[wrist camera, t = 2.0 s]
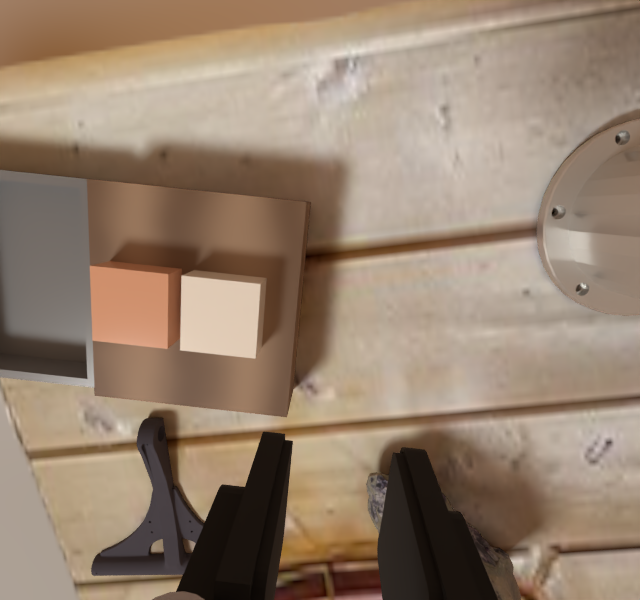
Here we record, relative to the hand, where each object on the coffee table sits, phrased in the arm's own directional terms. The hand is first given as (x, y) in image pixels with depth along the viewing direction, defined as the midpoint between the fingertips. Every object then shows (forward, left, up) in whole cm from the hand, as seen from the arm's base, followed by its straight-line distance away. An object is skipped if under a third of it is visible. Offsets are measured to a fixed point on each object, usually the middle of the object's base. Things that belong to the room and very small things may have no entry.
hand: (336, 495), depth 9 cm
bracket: (+12, +18, -20) cm, 30 cm away
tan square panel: (+9, 0, -19) cm, 21 cm away
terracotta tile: (+12, 0, -15) cm, 19 cm away
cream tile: (+7, 0, -15) cm, 17 cm away
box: (+21, 0, -19) cm, 28 cm away
